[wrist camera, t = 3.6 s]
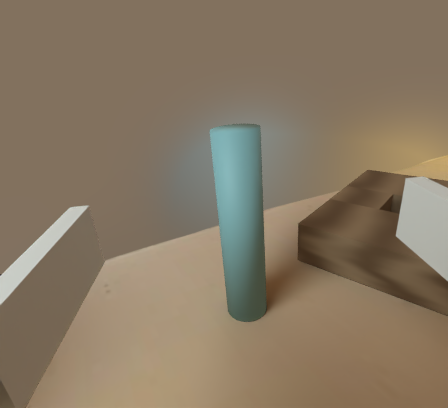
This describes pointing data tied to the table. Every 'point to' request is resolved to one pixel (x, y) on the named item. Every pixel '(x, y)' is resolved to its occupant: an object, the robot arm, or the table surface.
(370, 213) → the walnut hole block
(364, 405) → the table surface
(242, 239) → the teal dowel
